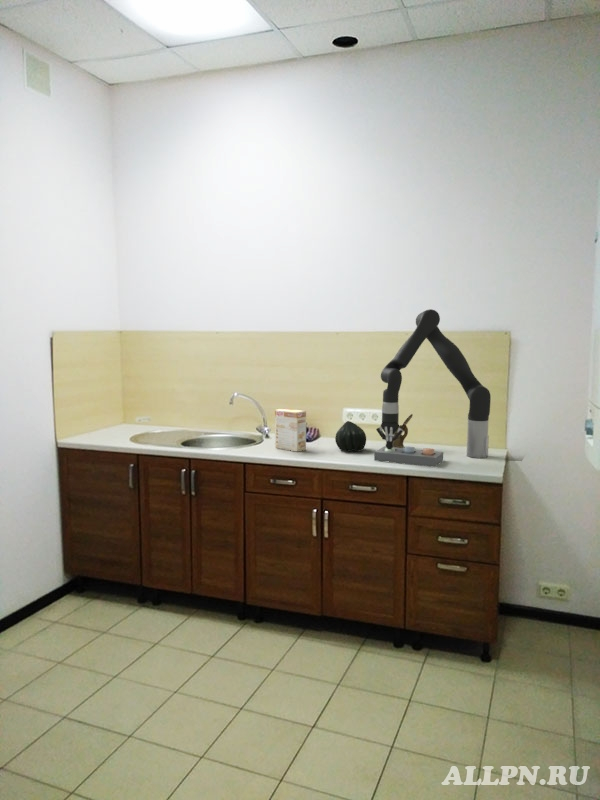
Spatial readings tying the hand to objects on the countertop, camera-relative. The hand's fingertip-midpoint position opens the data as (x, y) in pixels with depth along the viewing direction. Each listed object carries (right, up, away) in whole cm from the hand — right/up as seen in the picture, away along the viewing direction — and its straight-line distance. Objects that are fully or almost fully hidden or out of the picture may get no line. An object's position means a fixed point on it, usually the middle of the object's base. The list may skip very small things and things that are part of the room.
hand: (389, 448), depth 283 cm
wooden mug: (+8, -2, +22) cm, 24 cm away
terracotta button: (+16, -3, -8) cm, 18 cm away
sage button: (0, -3, 0) cm, 3 cm away
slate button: (+8, -2, -4) cm, 9 cm away
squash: (-16, -2, +19) cm, 25 cm away
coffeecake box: (-46, -2, +22) cm, 51 cm away
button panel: (+8, -5, -4) cm, 10 cm away
